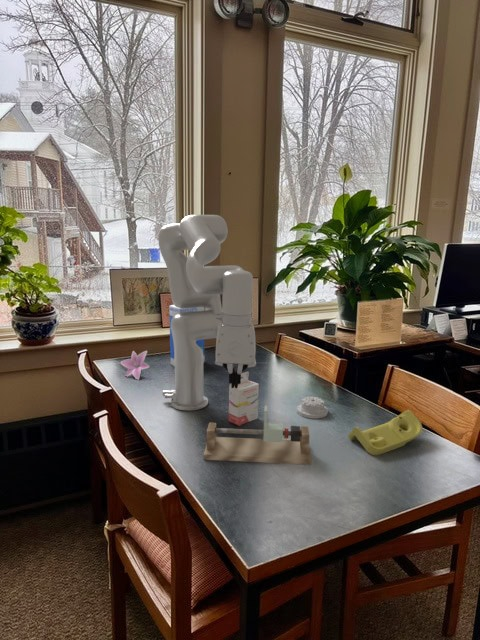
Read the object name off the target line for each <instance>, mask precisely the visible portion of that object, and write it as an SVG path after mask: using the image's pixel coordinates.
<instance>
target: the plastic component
mask: <svg viewBox="0 0 480 640" xmlns="http://www.w3.org/2000/svg"><path fill="white" fill-rule="evenodd" d="M422 431H423V425H422V423H421V421H420V420H419V419H418V418H417V416H416V415H415V414H414V413H413V412H412V411H411V410H409V409H407V410H404V411H403V412H401V413H400V414H398V415H397V416H396V417H393V418H392V419H391V420H389V421H387V422H385V423H383V424H379V425H376V426H374V427H370V428H367V429H365V430H362V429H361V428H360V427H358V426H355V427H353V429H352V430H351V431H350V433H349V434H348V435H347V437H348V439H349V440H350V441H355V440H358V442H360V444H361V445H362V447H363V448H364V449H365V451H366V452H367V453H368V454H370V455H372V456H381V455H382V454H385V453H387V452H390V451H394V450H395V449H399V448H401V447H404V446H405V445H406V444H407V443H409V442H412V441H413V440H414V439H416V438H417V437H419V435H421V433H422Z"/></svg>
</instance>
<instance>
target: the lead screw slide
mask: <svg viewBox="0 0 480 640" xmlns="http://www.w3.org/2000/svg"><path fill="white" fill-rule="evenodd" d="M218 433H219V434H237V435H238V434H239V435H241V434H242V435H263V436H264V429H248V428H247V429H245V428H244V429H243V428H224V427H223V428H222V427H220V428H219V427H217V422H209V423H208V426H207V429H206V445H205V448H204V451H203V460H205V461H228V462H245V463H246V462H250V463H269V464H290V465H291V464H292V465H293V464H294V465H312V456H311V448H310V429H309V426H304V425H301V426H300V425H291V426H290V430H289V428H286V427H285V428H283V437H284V439H283V440H282V442H264V438H249V437H248V438H247V437H230V436H228V437H225V436H217V434H218ZM289 437H290V439H289Z"/></svg>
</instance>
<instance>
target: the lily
mask: <svg viewBox="0 0 480 640" xmlns="http://www.w3.org/2000/svg"><path fill="white" fill-rule="evenodd" d="M147 354H148V350H144V351H142V352H140V353H139V354H137V353H136V352H135V350H133V351H132V352H131V356H130V358H127V359H124V360H121V361H120V362H119V363H120V364H121V365H122V366H123V367H124V368H125V369H127V370H126V372H125V375H124V377H125V376H127V377H129V376H131V375H133V377H134V378H135V379H138V380H137V381H140V376H141V373H142V372H143V370H145V369H148V368H150V367H151V365H149V364H147V362H145V359H146V357H147Z"/></svg>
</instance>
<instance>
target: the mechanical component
mask: <svg viewBox="0 0 480 640" xmlns="http://www.w3.org/2000/svg"><path fill="white" fill-rule="evenodd" d="M328 409H329V408H327V407H326V406H325V400H323V398H319V397H318V396H311V395H310V396H305V397H304V398H301V401H300V404H299V405H298V406H296V413H297V414H298V415H299V416H301V417H303V418H306V419H313V420H314V419H322V418H325V417H327V416H328V415H329V414H328V413H329V410H328Z"/></svg>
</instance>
